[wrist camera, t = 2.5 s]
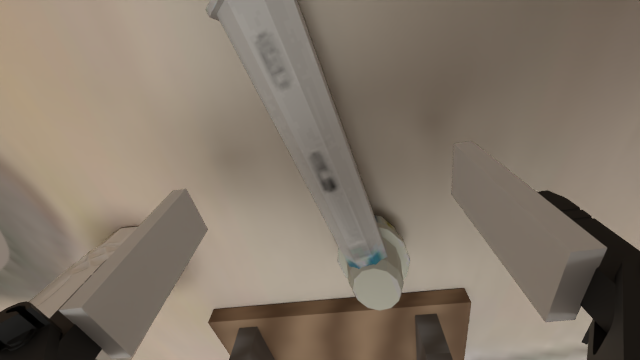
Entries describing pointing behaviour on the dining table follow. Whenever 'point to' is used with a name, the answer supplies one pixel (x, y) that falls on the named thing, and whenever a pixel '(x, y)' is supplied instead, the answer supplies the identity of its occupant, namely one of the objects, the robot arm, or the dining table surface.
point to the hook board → (348, 329)
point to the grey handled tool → (315, 140)
